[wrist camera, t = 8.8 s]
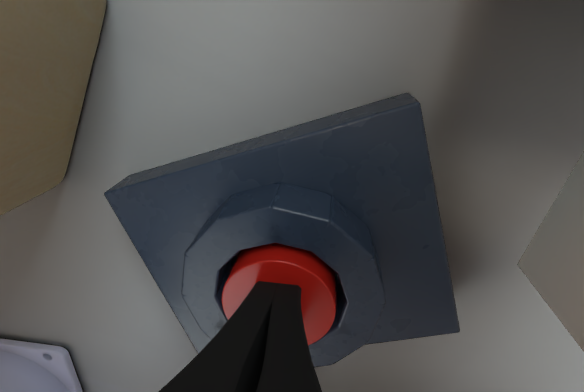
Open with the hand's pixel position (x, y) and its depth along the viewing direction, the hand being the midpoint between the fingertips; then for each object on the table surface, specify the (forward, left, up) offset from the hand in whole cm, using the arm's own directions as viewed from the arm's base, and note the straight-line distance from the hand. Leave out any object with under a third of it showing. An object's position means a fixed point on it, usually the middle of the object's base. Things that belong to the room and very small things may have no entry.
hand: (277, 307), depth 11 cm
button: (0, 0, -2) cm, 2 cm away
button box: (0, 0, -4) cm, 4 cm away
